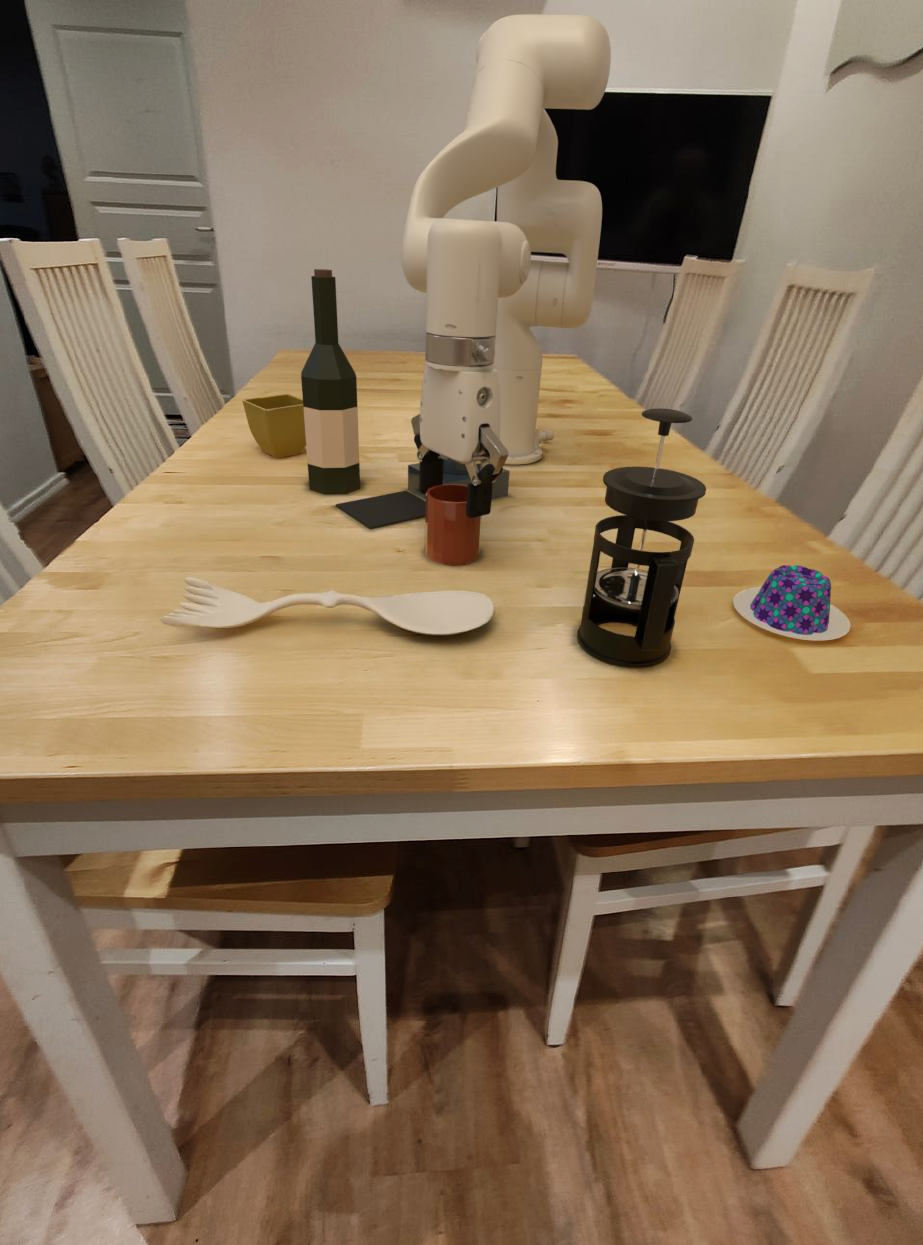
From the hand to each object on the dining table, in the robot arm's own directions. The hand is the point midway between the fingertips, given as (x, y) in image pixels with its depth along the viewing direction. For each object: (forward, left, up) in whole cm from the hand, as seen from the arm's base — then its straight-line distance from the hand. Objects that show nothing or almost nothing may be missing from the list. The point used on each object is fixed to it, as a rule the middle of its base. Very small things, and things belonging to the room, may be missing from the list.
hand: (453, 503), depth 82 cm
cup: (0, 0, -7) cm, 7 cm away
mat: (-1, -17, -7) cm, 19 cm away
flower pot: (+1, -50, -7) cm, 51 cm away
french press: (-2, +27, -7) cm, 28 cm away
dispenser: (-14, -18, -7) cm, 24 cm away
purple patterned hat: (-22, +33, -7) cm, 40 cm away
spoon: (+20, +8, -7) cm, 22 cm away
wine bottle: (+1, -30, -7) cm, 31 cm away
